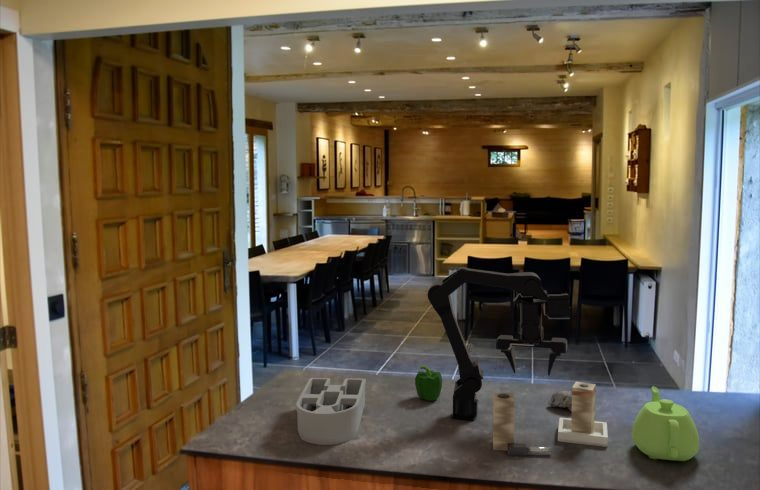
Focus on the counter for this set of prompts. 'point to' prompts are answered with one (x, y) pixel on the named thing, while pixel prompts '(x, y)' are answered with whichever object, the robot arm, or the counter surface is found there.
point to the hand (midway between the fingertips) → (531, 374)
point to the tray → (583, 434)
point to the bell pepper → (428, 384)
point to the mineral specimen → (561, 399)
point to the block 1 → (503, 420)
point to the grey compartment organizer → (330, 410)
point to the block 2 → (583, 408)
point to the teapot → (665, 430)
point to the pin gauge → (525, 449)
